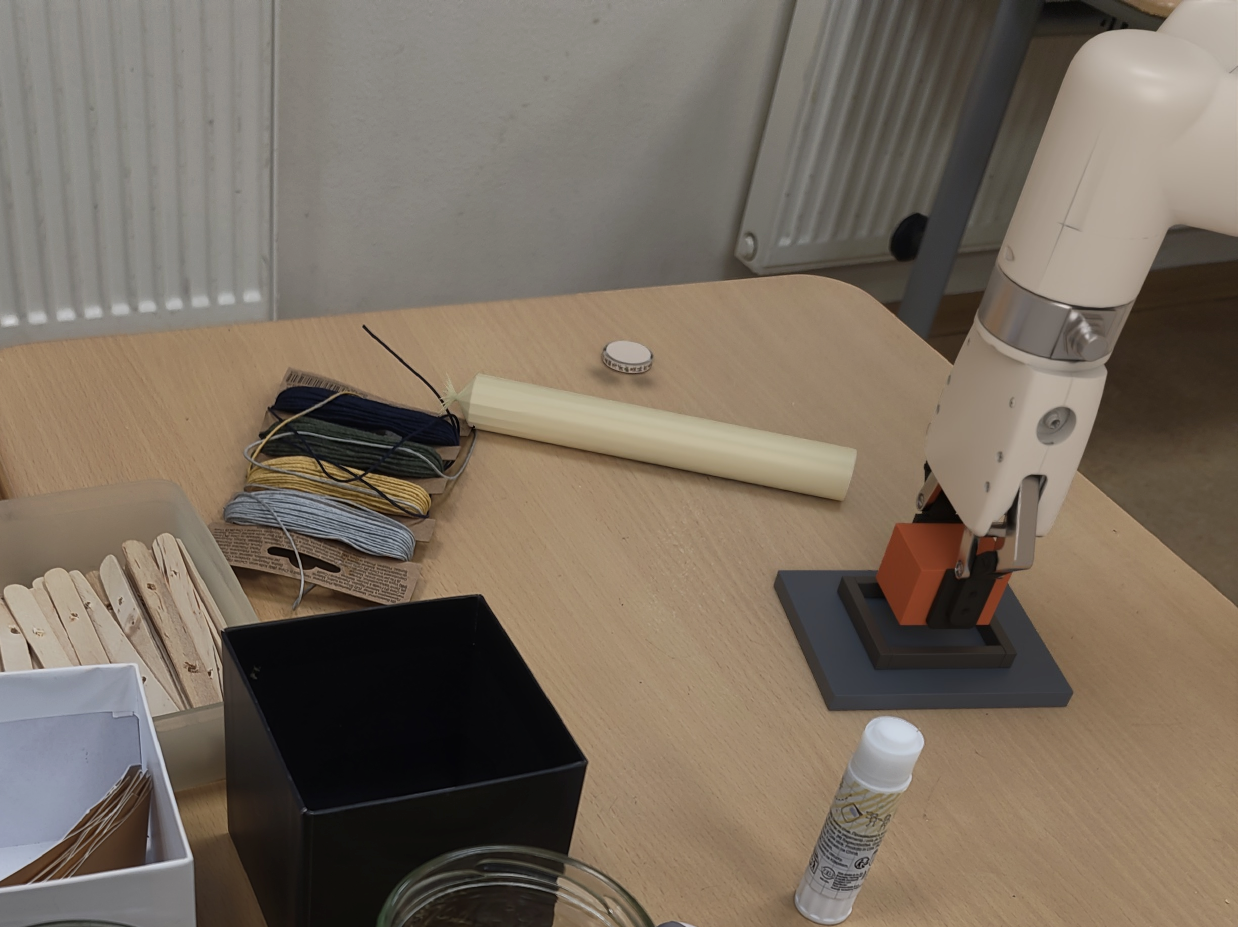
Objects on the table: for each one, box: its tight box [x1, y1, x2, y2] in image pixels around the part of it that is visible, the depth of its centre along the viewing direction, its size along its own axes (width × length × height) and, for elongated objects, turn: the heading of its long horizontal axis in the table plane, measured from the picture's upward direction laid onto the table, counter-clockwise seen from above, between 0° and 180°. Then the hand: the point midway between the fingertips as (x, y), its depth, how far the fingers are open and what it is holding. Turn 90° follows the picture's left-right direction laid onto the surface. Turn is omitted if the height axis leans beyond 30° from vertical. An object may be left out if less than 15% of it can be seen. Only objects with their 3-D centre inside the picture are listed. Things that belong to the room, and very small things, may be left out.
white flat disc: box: [601, 339, 654, 374], centre depth 114 cm, size 4×4×1 cm
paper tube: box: [438, 372, 858, 502], centre depth 104 cm, size 4×30×4 cm, turn 78°
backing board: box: [773, 569, 1075, 711], centre depth 94 cm, size 16×13×2 cm
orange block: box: [876, 522, 1013, 625], centre depth 91 cm, size 6×5×4 cm
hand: (934, 595), depth 92 cm, fingers closed on orange block, 5 cm apart
